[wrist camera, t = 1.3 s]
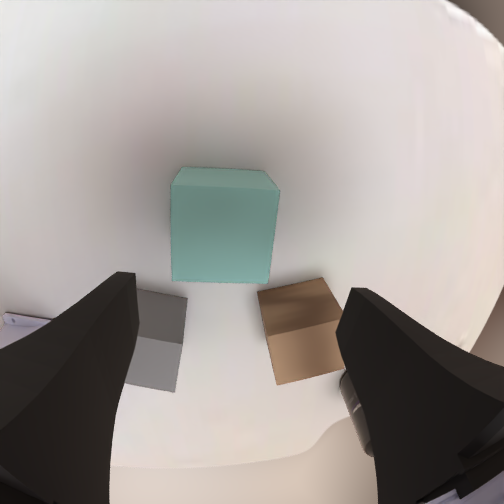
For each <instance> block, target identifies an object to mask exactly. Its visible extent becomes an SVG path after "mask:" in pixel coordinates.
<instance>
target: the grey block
mask: <svg viewBox="0 0 504 504" xmlns="http://www.w3.org/2000/svg"><path fill="white" fill-rule="evenodd" d="M136 289H137V288H136ZM187 299H188V298H183V297H177V296H172V295H167V294H162V293H157V292H152V291H147V290H142V289H137V301H138V311H139V320H140V325H139V330H138V335H137V341H136V346H135V350H134V353H133V357H132V360H131V363H130V366H129V369H128V373H127V376H126V379H125V382H124V383H127V384H131V385H136V386H141V387H146V388H151V389H157V390H163V391H169V392H175V388H176V381H177V375H178V369H179V363H180V357H181V352H182V346H183V336H184V327H185V317H186V308H187Z"/></svg>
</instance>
